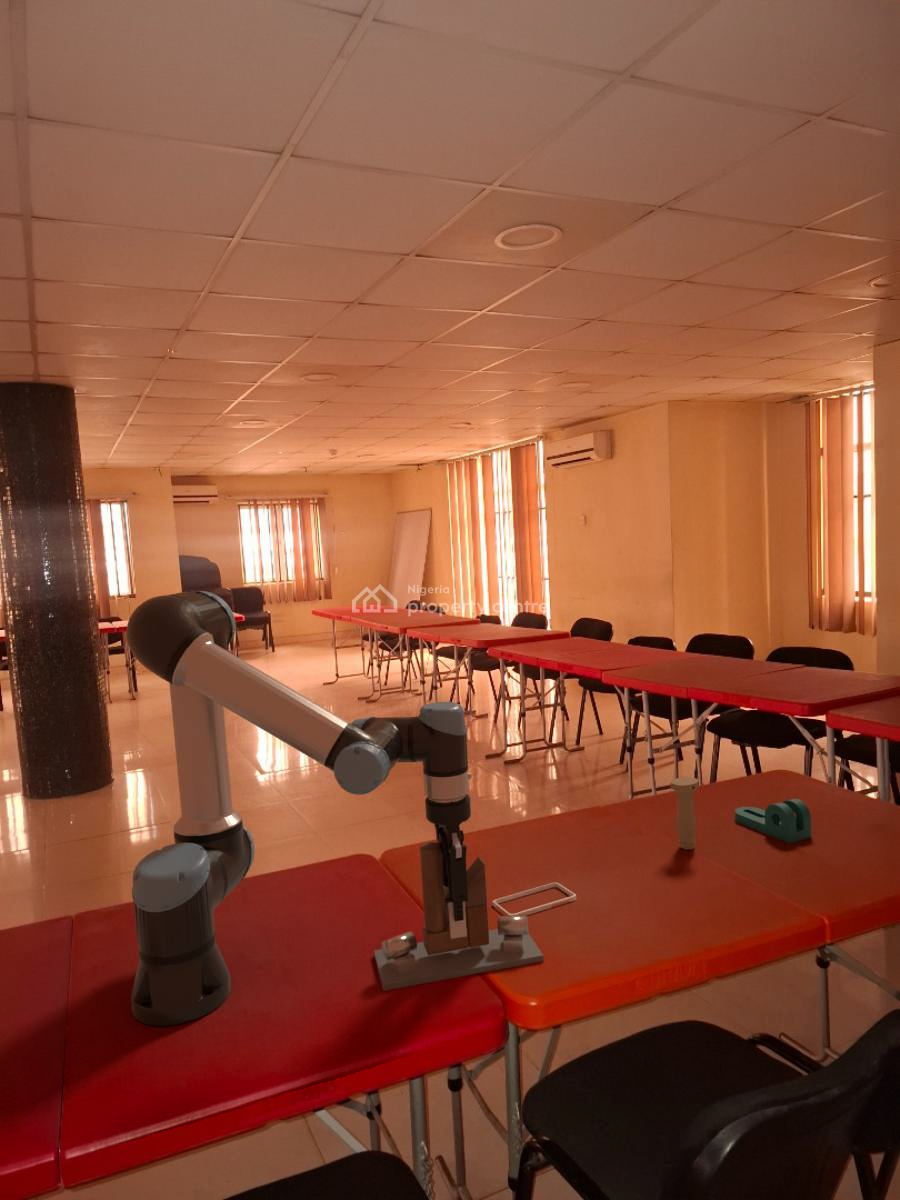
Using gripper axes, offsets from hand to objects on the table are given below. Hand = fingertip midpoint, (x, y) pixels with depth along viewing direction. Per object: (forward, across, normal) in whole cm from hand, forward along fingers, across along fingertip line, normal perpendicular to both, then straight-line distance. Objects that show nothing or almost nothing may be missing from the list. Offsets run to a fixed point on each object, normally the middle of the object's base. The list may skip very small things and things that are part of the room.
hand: (455, 929), depth 133 cm
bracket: (+5, +32, -82) cm, 88 cm away
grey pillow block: (+5, -1, +10) cm, 11 cm away
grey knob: (+5, -1, -10) cm, 11 cm away
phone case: (+6, +15, -19) cm, 25 cm away
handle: (+5, +28, -59) cm, 66 cm away
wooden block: (+3, 0, 0) cm, 3 cm away
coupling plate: (+5, 0, 0) cm, 5 cm away
